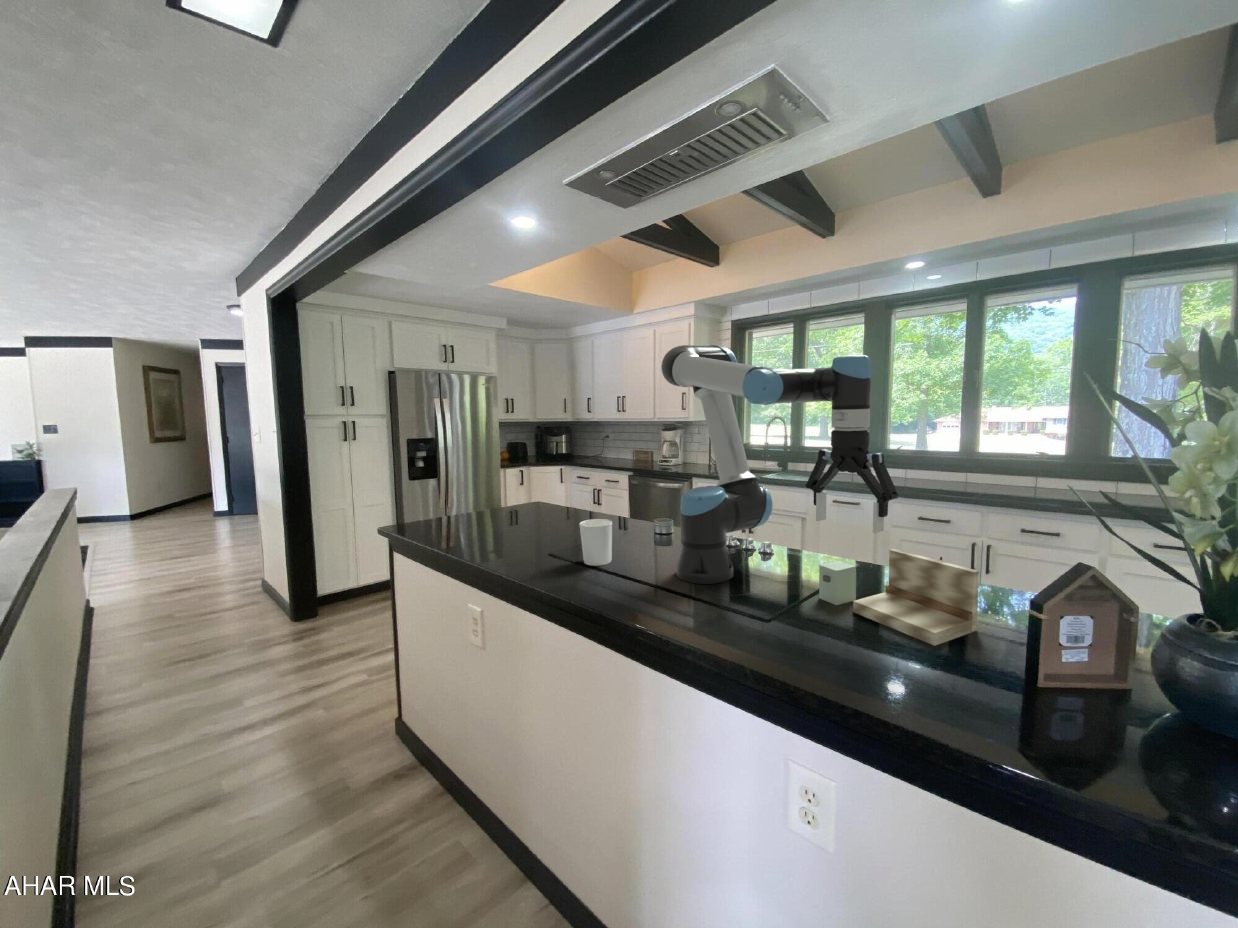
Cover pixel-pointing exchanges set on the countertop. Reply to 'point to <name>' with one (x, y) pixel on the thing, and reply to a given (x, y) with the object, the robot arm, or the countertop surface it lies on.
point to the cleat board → (925, 599)
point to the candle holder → (596, 541)
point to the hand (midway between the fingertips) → (848, 525)
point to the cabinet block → (837, 582)
